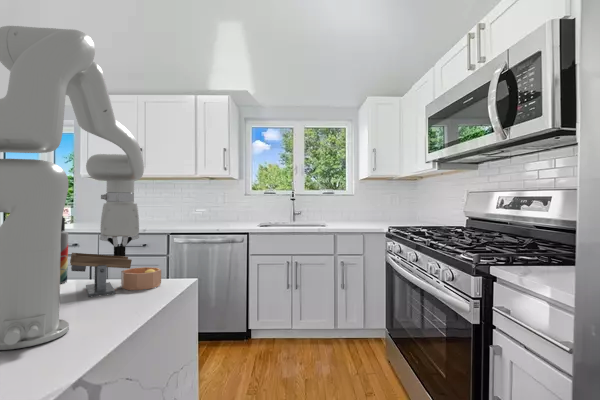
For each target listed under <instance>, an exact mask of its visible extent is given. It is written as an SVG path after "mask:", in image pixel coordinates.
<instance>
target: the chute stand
mask: <svg viewBox="0 0 600 400" xmlns="http://www.w3.org/2000/svg"><path fill="white" fill-rule="evenodd" d="M106 266H107V265H98V267H95V266H94V283H91V284H85V289H86V293H87V297H88V298H92V297H91V296H93V297H100V296H99V295H101V296H108V295H107V294H110V295H115V294H116V289H115V288H114V287H113V285H112V284H111V282H110V281H107V267H106Z"/></svg>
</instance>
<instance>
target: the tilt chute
mask: <svg viewBox="0 0 600 400" xmlns="http://www.w3.org/2000/svg"><path fill="white" fill-rule="evenodd" d="M69 262H70V263H69V264H70V266H71V267H70V269H71V272H81V273H82V272H86V268H87V267H94V268H95V267H98V265H107V266H106V268H114V269H115V268H116V269H131V265H132V258H131V259H130V258H129V256H126V255H125V256H114V255H110V254H109V255H108V254H96V253H83V252H71V255H70V259H69Z"/></svg>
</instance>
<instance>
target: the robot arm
mask: <svg viewBox="0 0 600 400" xmlns="http://www.w3.org/2000/svg"><path fill="white" fill-rule="evenodd" d="M95 55H96V47H95V43H94V41H93V40H92V38H91V37H90V35H88V34H87V33H85V32H83V31H81V30H77V29H73V28H72V29H71V28H70V29H69V28H54V27H35V26H34V27H33V26H22V25H4V26H3V25H2V26H0V63H1V65H2V66H4V68H6V69H7V70H8V71H9V78H8V85H7V91H6V94H5V95H4V97H1V98H0V153H8V154H9V153H15V154H17V153H19V154H43V153H51V152H53V151H55V150H57V149H58V148H59V147H60V145H61V144H62V143H61V141H62V139H63V138H62V137H63V132H64V131H63V130H64V121H65V120H64V119H65V108H66V107H65V106H66V96H67V97H69V98H68V99H69V100H70V104H71V106H72V107H71V108H72V109H73V113H74V116H75V119H76V122H77V124H78V126H79V127H80V128H81V129H82V130H83V131H85V132H87V133H89V134H91V135H93V136H96V137H98V138H101V139H103V140H106V141H108V142H110V143H112V144H114V145H116V146H117V147H119V148H120V149H121V150H122V151H123V152H124V154H117V153H112V154H110V153H108V154H107V153H98V154H94V155H91V156H90V157H89V158H88V160H86V165H85V169H86V172H87V175H88V176H90V177H91V178H92V179H94V180H95V181H101V182H103V181H105V182H106V190H105V191H106V193H105V194H100V200H105V203H103V205H102V209H101V211H102V212H101V218H100V236H99V240H100V241H103V242H109V244H110V245H112V246H113V256H125V257H126V247H127V245H128V244H129V243H130V242H131V241H134V240H137V239H140V235H139V233H140V219H139V208H138V203H135V181H138V180H141V178H143V175H144V171H145V166H144V164H145V163H144V160H143V155H142V150H141V146H140V144H139V141H138V139H136V137H135V136H134V134H132V133H131V131H130V130H129V129H127V127H125V126H124V125H123V124H121V123H120V122H119V121H118V120H117V119H116V118H115V115H114V109H113V106H112V103H111V98H110V95H109V94H110V93H109V91H108V87H107V82H106V79H105V75H104V72H103V69H102V68H101V66H99V64H97V62H95V61H94V59H95ZM68 191H69V179H68V175H67V172H66V171H64V169H63V168H62V167H61V166H59V165H58V164H56V163H54V162H52V161H48V160H43V159H34V158H33V159H32V158H0V213H6V214H8V216H7V217H6V218H5V220H4V221H3V222H2V223H1V224H0V351H6V350H7V351H8V350H9V351H10V350H16V349H24V348H29V347H34V346H37V345H41V344H45V343H47V342H51V341H54V340H56V339H58V338H61V337H62V336H64V335H65V334H66V333H68V331H69V330H70V329H69V328H70V323H69V322H68V321H67V320H65V319H60V301H61V300H60V298H61V297H60V291H61V284H60V257H61V225H62V217H63V216H64V209H65V204H66V203H67V197H68ZM63 218H64V217H63ZM118 237H122V238H121V242H120V244H119V242H118Z"/></svg>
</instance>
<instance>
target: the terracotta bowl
mask: <svg viewBox="0 0 600 400" xmlns="http://www.w3.org/2000/svg"><path fill="white" fill-rule="evenodd" d="M149 269H153V270H155V272H150V273H144V272H145V271H147V270H149ZM120 274H121V275H120V281H121V282H120V284H121V287H120V288H121V289H122V290H124V289H125V291H143V289H146V290H152V289H155V287H156V288H158V286H159V287H161V284H162V269H160V268H159V267H147V266H145V267H144V266H143V267H142V266H141V267H134V268H133V267H132V268H131V267H130V268H126V269H123V270H121V273H120ZM151 288H152V289H151Z"/></svg>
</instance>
